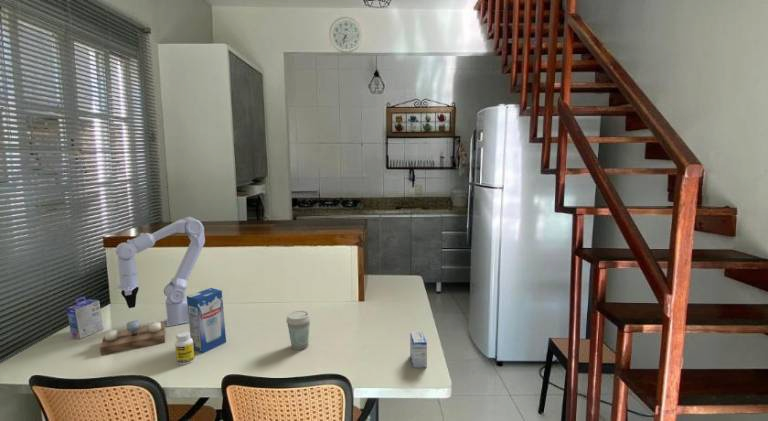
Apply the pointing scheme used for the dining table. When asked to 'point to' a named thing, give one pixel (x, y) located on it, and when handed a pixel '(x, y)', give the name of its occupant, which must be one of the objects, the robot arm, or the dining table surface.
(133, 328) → the middle knob
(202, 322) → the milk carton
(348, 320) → the dining table surface
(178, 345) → the supplement bottle
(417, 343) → the medicine box
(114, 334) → the knob
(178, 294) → the robot arm
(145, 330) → the knob panel
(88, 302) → the ink cartridge box
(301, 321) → the coffee cup
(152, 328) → the knob
